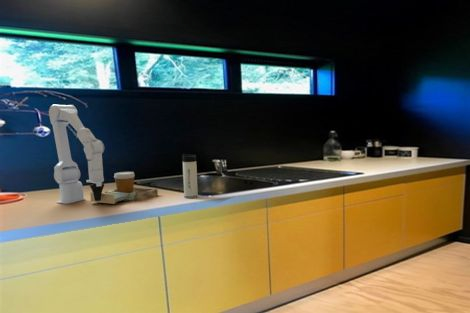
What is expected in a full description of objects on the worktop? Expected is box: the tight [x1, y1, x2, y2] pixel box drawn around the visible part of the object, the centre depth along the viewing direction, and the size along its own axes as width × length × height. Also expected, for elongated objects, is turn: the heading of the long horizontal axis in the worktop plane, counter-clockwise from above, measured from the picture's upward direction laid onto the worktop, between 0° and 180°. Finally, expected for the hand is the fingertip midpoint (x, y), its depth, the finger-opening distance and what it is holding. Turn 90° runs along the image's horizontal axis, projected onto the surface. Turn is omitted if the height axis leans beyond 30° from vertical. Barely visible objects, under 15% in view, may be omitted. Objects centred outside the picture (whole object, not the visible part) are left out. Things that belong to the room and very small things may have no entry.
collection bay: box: [104, 186, 159, 202], centre depth 169 cm, size 14×20×3 cm
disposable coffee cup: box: [113, 171, 136, 193], centre depth 165 cm, size 10×10×12 cm
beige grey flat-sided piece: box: [89, 189, 136, 205], centre depth 159 cm, size 13×14×5 cm
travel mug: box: [182, 153, 199, 199], centre depth 163 cm, size 6×7×20 cm
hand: (97, 200), depth 152 cm, fingers closed
